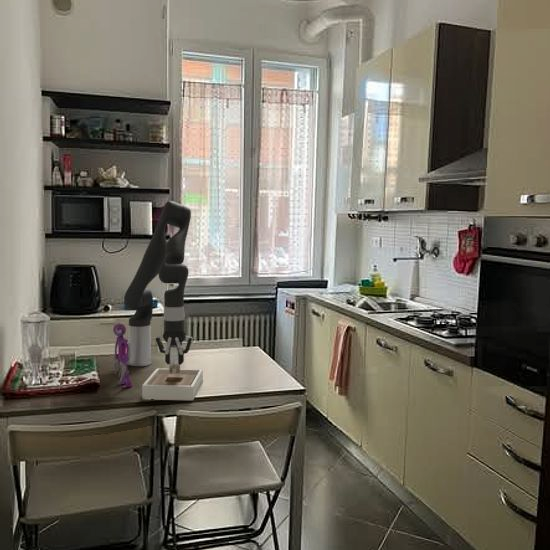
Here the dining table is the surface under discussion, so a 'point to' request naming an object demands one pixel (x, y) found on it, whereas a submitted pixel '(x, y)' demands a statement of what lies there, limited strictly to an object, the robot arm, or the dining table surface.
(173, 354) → the peg
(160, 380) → the bore plate
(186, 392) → the box
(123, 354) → the toy
